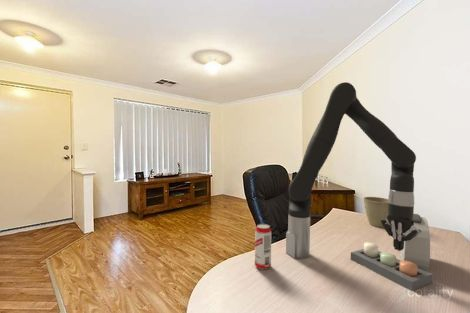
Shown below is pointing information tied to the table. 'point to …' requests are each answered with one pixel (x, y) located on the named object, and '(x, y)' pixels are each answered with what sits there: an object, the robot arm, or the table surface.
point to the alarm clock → (418, 245)
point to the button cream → (370, 250)
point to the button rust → (408, 268)
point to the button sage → (388, 259)
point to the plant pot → (376, 210)
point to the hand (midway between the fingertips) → (398, 249)
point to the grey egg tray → (393, 271)
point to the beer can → (263, 246)
